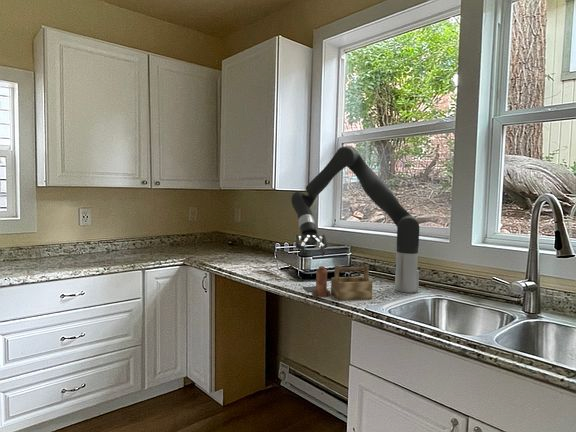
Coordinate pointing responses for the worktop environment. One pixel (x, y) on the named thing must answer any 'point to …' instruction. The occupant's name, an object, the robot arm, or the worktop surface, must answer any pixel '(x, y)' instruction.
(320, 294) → the reddish brown cylinder
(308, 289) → the pad
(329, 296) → the keeper
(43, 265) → the worktop surface
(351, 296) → the toolbox
